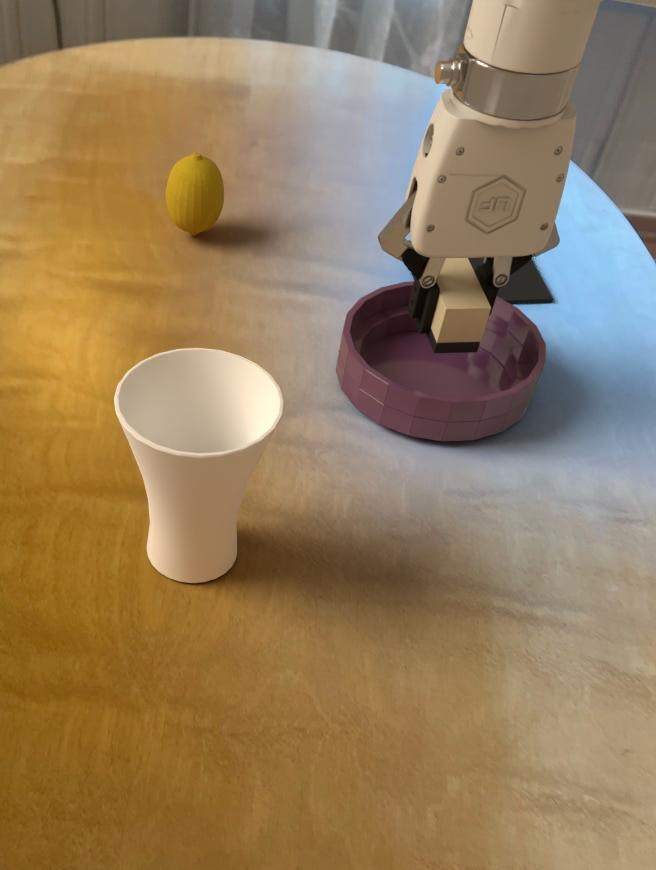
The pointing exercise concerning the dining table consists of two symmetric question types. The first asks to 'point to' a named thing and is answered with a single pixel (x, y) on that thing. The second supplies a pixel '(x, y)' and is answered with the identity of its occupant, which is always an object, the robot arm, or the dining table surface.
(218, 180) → the lemon
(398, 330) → the bowl
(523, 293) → the mat
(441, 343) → the eraser
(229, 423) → the cup
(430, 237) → the robot arm
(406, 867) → the dining table surface
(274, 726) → the dining table surface
